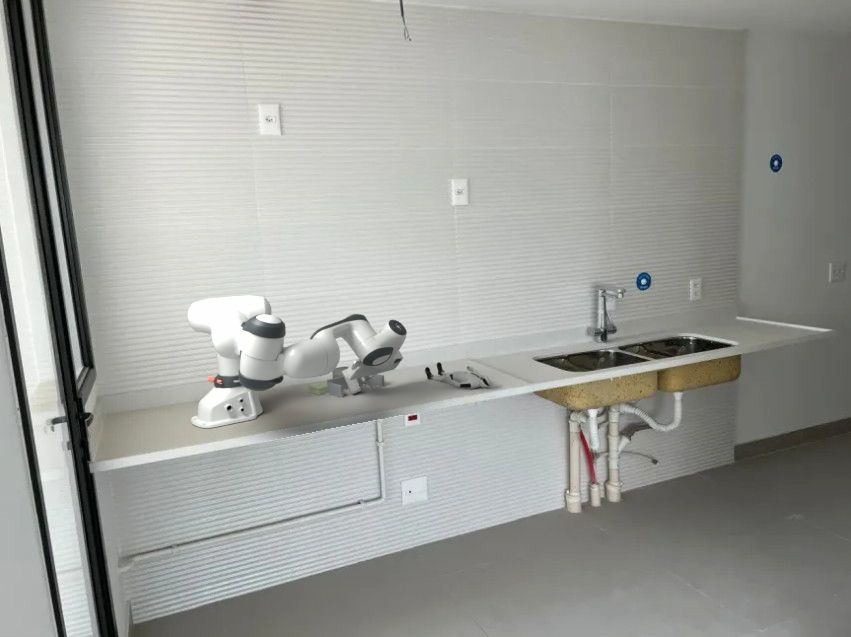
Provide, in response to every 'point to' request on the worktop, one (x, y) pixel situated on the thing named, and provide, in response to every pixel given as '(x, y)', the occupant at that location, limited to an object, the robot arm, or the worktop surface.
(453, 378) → the figurine
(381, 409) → the worktop surface
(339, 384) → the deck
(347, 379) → the wall hook
